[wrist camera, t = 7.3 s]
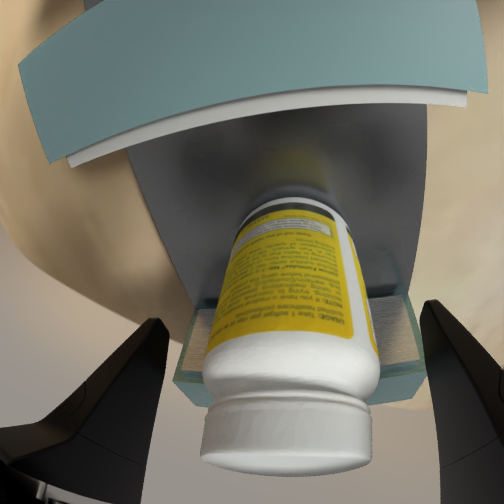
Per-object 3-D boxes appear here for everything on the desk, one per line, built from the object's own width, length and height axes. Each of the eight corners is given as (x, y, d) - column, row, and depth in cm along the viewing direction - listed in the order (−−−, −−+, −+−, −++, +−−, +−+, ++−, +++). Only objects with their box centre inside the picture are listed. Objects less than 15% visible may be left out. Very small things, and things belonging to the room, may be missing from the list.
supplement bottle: (213, 245, 12) (147, 448, 5) (293, 168, 10) (287, 437, 3) (294, 302, 14) (283, 481, 7) (374, 247, 11) (419, 457, 5)
